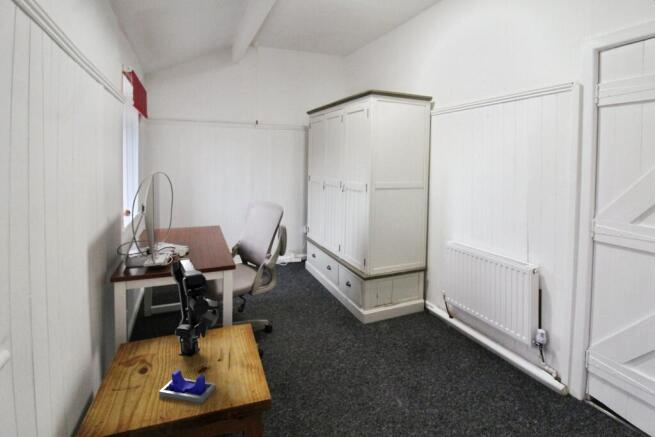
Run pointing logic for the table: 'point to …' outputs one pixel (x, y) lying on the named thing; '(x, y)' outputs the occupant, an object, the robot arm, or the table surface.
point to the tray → (188, 396)
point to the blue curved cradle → (187, 384)
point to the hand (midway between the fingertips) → (197, 342)
